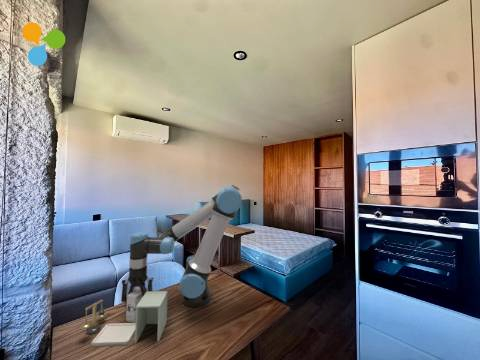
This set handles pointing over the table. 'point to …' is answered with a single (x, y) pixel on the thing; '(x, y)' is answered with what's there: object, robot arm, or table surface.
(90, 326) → the balance
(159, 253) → the robot arm
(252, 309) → the table surface
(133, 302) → the ink box
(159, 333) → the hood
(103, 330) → the dish
